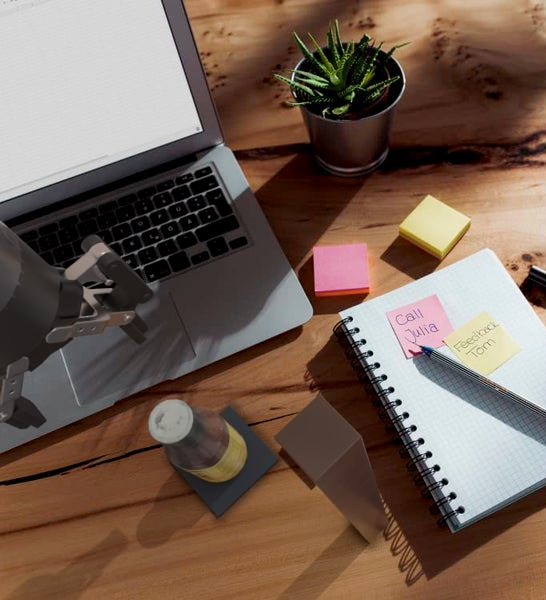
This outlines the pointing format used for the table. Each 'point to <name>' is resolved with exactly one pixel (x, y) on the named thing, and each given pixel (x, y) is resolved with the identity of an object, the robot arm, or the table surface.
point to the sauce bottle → (198, 440)
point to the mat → (255, 467)
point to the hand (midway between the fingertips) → (87, 373)
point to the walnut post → (336, 464)
